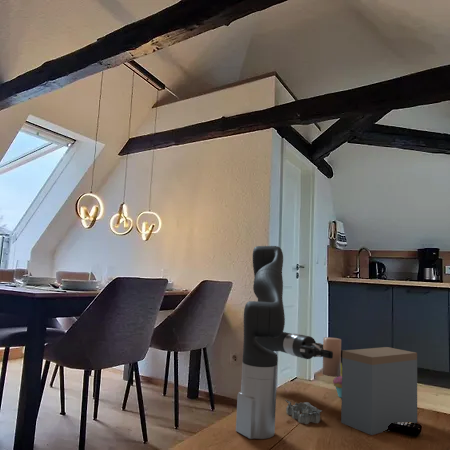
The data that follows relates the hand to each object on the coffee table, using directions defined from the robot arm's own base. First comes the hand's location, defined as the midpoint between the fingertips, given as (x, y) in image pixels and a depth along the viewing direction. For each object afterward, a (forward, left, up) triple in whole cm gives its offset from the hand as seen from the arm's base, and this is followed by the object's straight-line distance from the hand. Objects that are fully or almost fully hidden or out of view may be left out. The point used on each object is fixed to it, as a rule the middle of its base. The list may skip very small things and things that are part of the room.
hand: (338, 354), depth 126 cm
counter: (+5, -11, -17) cm, 21 cm away
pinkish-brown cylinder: (0, +2, -7) cm, 7 cm away
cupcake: (+17, +11, -18) cm, 27 cm away
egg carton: (-13, +2, -18) cm, 22 cm away
